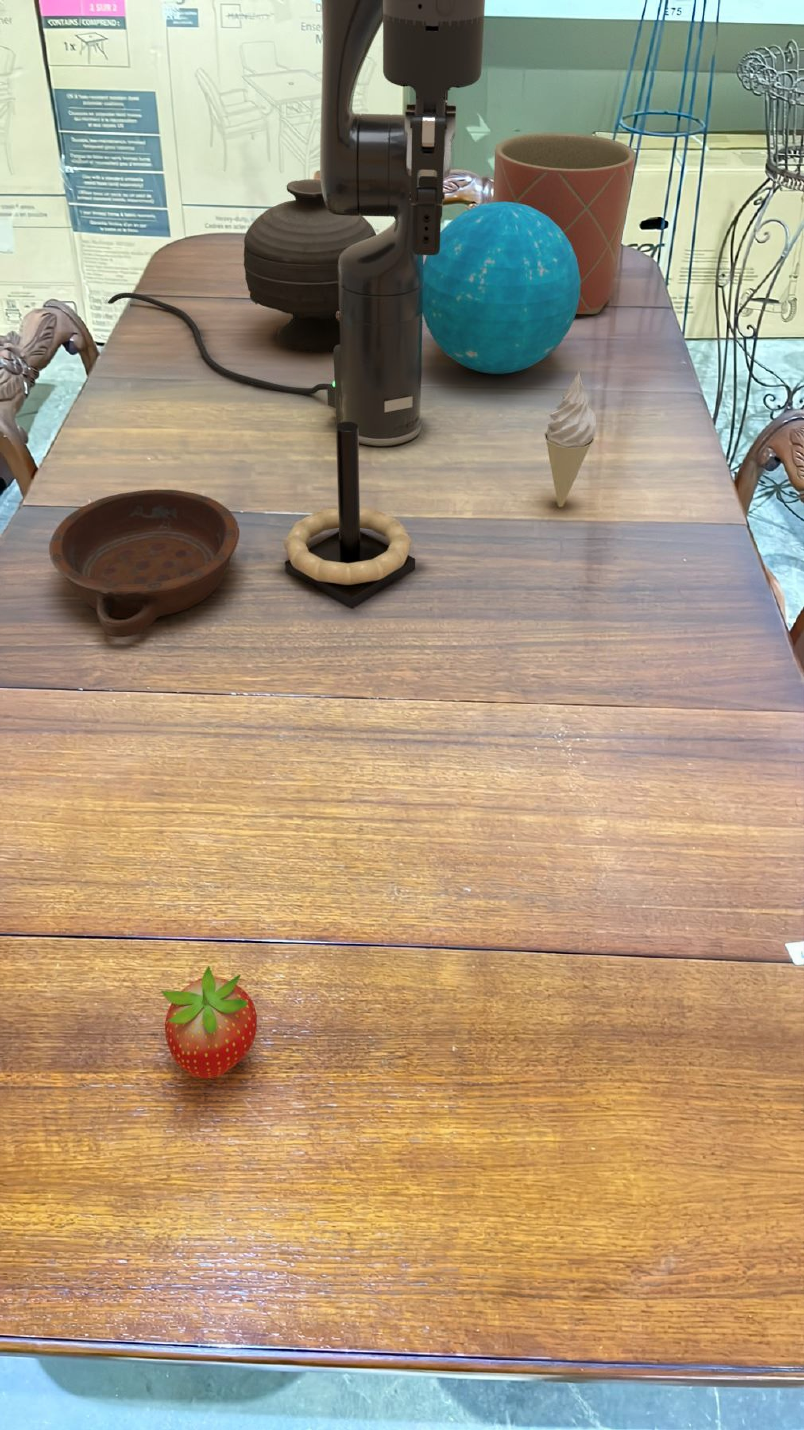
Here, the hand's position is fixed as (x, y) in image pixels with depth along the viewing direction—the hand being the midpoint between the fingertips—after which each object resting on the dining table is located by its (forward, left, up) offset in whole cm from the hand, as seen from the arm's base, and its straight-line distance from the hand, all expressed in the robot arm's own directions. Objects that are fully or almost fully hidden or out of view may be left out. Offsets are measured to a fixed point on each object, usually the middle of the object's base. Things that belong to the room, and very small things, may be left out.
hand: (427, 236), depth 90 cm
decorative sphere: (-20, +38, -30) cm, 52 cm away
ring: (-2, -8, -27) cm, 29 cm away
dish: (-14, -23, -30) cm, 40 cm away
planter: (-29, +63, -30) cm, 75 cm away
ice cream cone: (+7, +15, -30) cm, 34 cm away
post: (-1, -9, -30) cm, 31 cm away
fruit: (+30, -53, -30) cm, 68 cm away
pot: (-44, +29, -30) cm, 61 cm away
